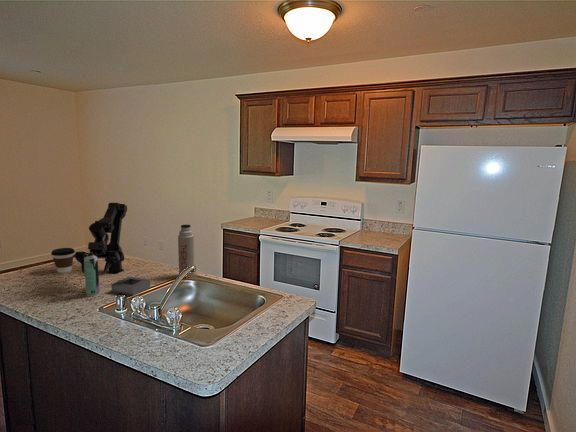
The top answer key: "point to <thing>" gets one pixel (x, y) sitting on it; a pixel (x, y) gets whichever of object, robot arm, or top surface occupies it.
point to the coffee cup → (63, 259)
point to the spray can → (91, 275)
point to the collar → (130, 285)
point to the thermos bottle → (186, 248)
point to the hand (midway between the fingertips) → (93, 272)
